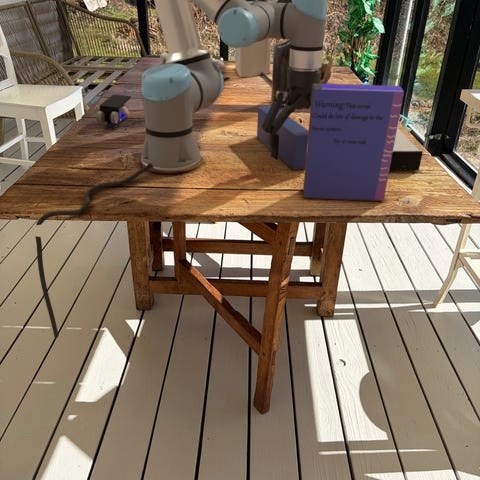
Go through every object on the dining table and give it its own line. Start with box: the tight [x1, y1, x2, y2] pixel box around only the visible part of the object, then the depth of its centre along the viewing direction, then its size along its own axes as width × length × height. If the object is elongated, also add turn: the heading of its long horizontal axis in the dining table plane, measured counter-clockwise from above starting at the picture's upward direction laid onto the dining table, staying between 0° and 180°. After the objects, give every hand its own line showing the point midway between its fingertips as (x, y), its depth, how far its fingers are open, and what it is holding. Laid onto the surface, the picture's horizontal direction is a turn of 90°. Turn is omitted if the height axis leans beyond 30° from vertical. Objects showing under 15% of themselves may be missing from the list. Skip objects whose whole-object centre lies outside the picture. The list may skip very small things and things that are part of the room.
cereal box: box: [302, 83, 405, 202], centre depth 102 cm, size 17×5×24 cm, turn 86°
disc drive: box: [389, 127, 424, 172], centre depth 128 cm, size 18×22×5 cm
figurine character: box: [95, 94, 132, 130], centre depth 148 cm, size 7×8×15 cm
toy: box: [159, 51, 226, 68], centre depth 223 cm, size 24×25×7 cm
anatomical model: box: [319, 55, 334, 84], centre depth 196 cm, size 13×9×15 cm
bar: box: [256, 105, 309, 171], centre depth 129 cm, size 26×5×9 cm, turn 19°
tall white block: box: [234, 38, 272, 78], centre depth 210 cm, size 19×15×28 cm
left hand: (298, 155), depth 122 cm, fingers open, 12 cm apart
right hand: (280, 26), depth 140 cm, fingers open, 8 cm apart
